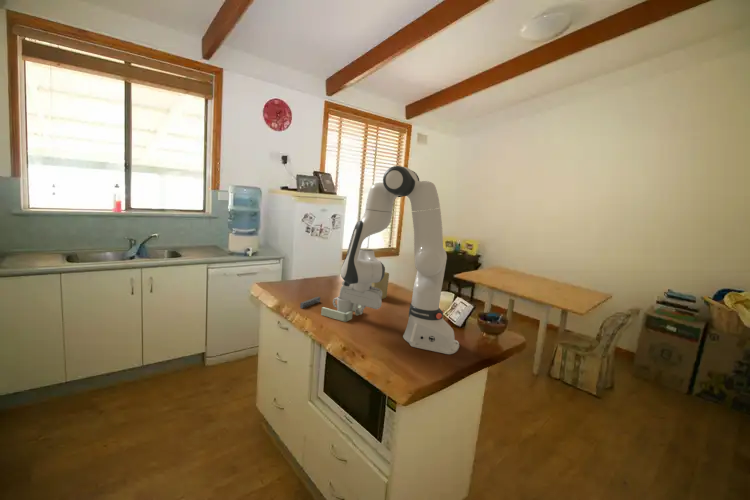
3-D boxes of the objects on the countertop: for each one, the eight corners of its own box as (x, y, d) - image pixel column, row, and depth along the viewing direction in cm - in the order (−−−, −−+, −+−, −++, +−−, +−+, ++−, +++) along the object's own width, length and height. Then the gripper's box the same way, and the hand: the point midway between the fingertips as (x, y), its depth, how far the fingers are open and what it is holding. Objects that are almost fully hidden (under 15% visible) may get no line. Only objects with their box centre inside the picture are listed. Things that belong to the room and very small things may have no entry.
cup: (327, 312, 161) (328, 296, 160) (337, 308, 168) (338, 292, 167) (347, 318, 156) (348, 301, 155) (356, 314, 163) (357, 298, 162)
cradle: (363, 312, 167) (363, 305, 166) (345, 322, 152) (346, 314, 151) (339, 306, 172) (340, 299, 171) (320, 314, 157) (321, 307, 157)
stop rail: (319, 301, 175) (320, 297, 175) (302, 308, 163) (303, 303, 163) (317, 301, 176) (317, 296, 176) (300, 307, 164) (300, 302, 163)
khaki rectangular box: (350, 289, 205) (352, 264, 203) (363, 287, 212) (366, 263, 209) (373, 300, 189) (376, 273, 186) (387, 298, 195) (390, 272, 192)
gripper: (385, 287, 154) (382, 317, 157) (346, 278, 163) (343, 306, 165) (379, 290, 149) (376, 321, 151) (339, 280, 157) (336, 310, 159)
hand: (358, 313), depth 158 cm, fingers closed
